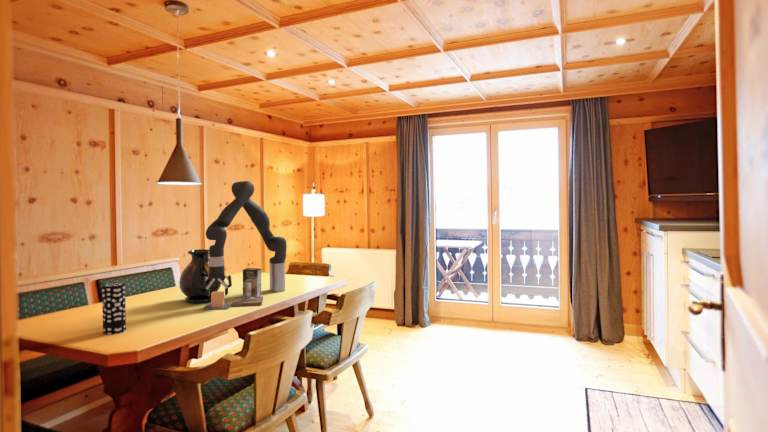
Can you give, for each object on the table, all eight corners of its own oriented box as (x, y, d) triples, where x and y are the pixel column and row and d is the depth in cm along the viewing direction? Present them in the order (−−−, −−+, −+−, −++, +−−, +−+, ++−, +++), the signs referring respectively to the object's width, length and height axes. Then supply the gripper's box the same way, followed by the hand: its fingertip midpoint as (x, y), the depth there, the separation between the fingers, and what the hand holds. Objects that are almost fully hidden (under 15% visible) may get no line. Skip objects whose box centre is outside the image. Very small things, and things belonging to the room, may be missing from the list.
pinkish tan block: (213, 304, 231) (212, 291, 231) (224, 304, 233) (224, 291, 232) (211, 307, 226) (211, 293, 226) (222, 306, 227) (222, 293, 227)
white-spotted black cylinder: (109, 328, 190) (108, 283, 189) (129, 328, 191) (128, 282, 190) (98, 334, 182) (97, 286, 181) (119, 334, 183) (118, 286, 182)
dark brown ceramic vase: (221, 303, 237) (220, 251, 236) (177, 306, 230) (176, 253, 229) (221, 295, 257) (221, 247, 256) (181, 298, 250) (180, 249, 249)
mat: (207, 304, 234) (207, 303, 234) (230, 303, 236) (230, 302, 236) (202, 310, 222) (202, 309, 222) (227, 309, 225) (227, 307, 225)
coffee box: (242, 297, 251) (241, 269, 251) (246, 295, 258) (246, 267, 257) (257, 297, 251) (257, 269, 250) (261, 295, 257) (261, 268, 256)
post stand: (235, 300, 244) (234, 281, 244) (263, 299, 247) (262, 280, 247) (231, 306, 229) (231, 286, 229) (261, 305, 233) (261, 285, 232)
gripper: (231, 263, 234) (232, 293, 234) (203, 264, 231) (204, 294, 231) (230, 265, 226) (230, 296, 227) (200, 266, 223) (201, 298, 224)
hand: (217, 295), depth 229 cm, fingers open, 8 cm apart
